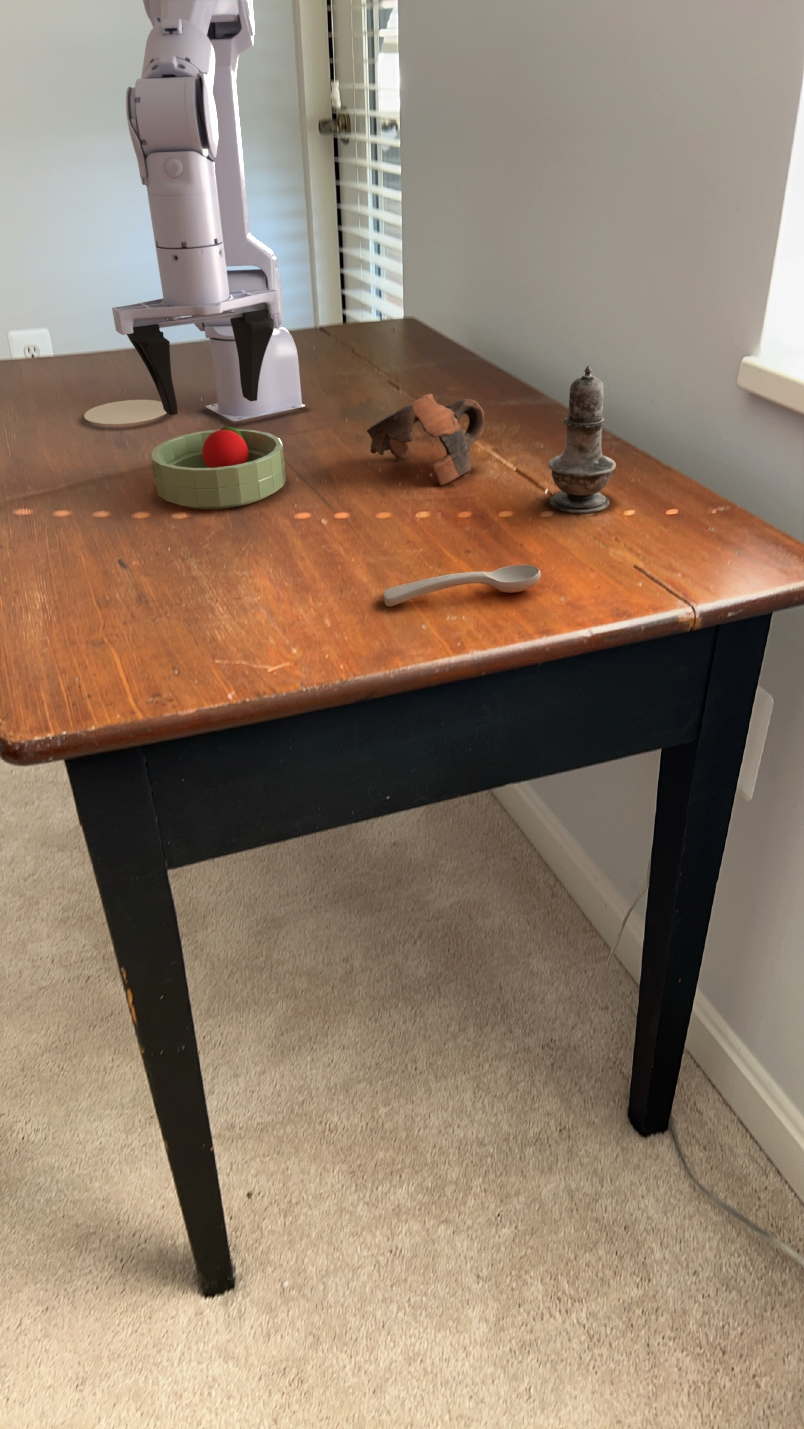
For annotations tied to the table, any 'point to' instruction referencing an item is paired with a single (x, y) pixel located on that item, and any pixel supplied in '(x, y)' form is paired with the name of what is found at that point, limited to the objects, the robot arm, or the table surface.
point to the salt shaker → (582, 451)
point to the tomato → (225, 448)
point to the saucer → (125, 412)
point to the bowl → (218, 472)
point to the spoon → (467, 582)
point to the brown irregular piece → (432, 433)
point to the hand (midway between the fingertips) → (211, 405)
